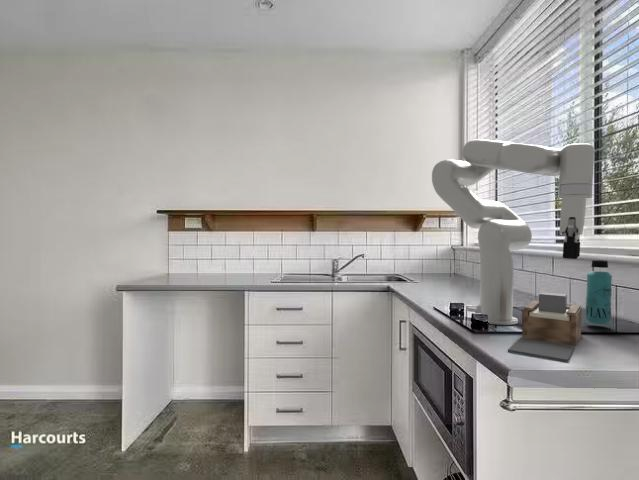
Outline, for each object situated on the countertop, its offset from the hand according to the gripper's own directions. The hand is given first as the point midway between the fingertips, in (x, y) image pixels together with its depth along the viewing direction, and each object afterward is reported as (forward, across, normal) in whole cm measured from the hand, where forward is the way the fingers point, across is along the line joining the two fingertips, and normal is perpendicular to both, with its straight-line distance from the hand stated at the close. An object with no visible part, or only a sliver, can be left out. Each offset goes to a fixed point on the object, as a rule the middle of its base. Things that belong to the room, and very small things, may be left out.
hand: (571, 257), depth 110 cm
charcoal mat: (+21, +17, -4) cm, 28 cm away
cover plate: (+15, +2, -4) cm, 16 cm away
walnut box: (+21, +2, -3) cm, 22 cm away
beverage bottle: (+22, -21, +6) cm, 31 cm away
